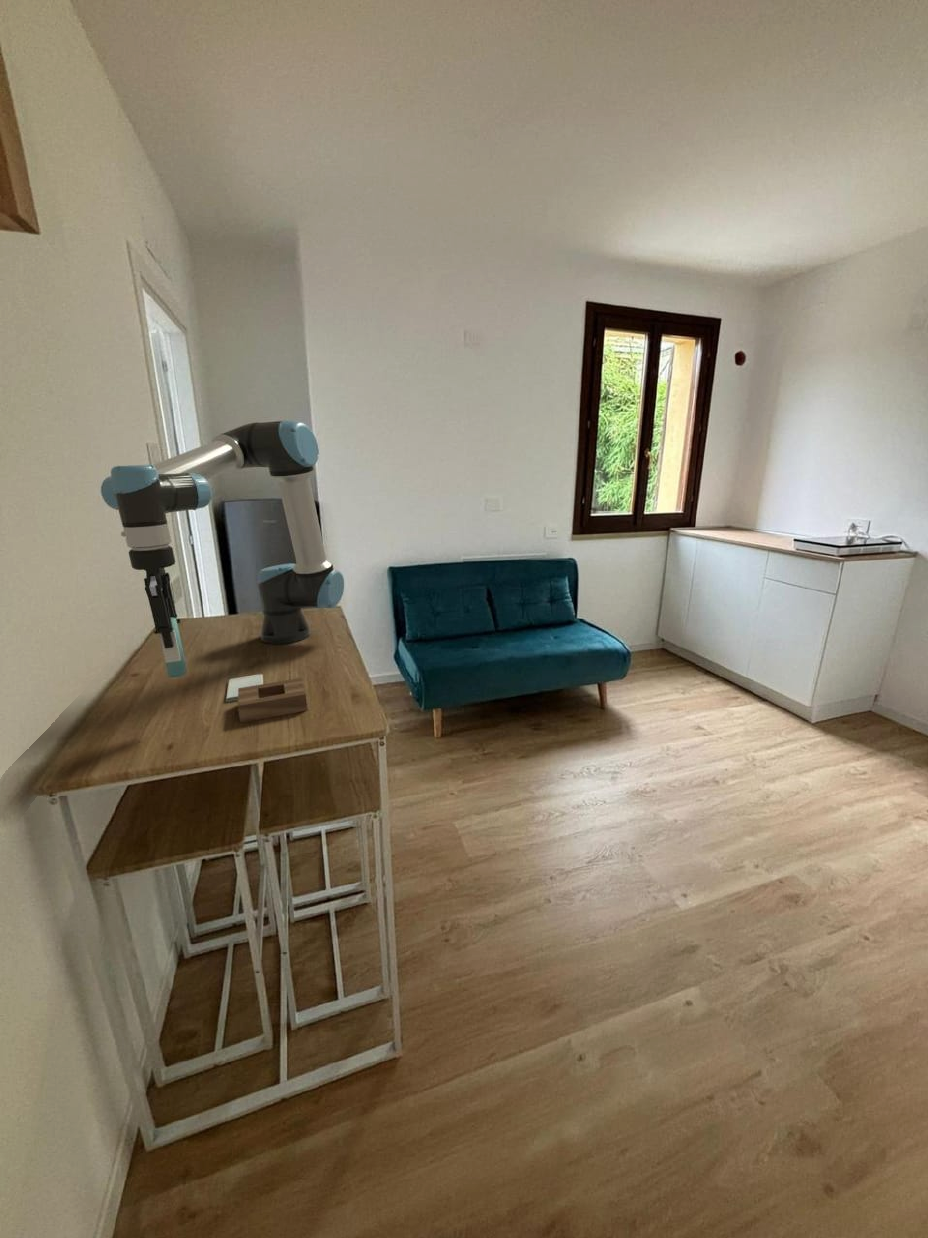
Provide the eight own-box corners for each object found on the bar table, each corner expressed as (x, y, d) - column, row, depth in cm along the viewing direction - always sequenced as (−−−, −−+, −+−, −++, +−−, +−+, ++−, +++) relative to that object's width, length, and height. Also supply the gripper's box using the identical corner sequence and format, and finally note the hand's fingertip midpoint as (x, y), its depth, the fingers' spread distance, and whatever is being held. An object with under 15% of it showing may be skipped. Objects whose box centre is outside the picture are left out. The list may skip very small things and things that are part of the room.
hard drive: (263, 692, 123) (262, 673, 134) (225, 698, 120) (228, 678, 131) (263, 698, 123) (263, 679, 134) (226, 704, 120) (229, 684, 131)
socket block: (241, 703, 119) (238, 688, 118) (303, 692, 124) (301, 677, 123) (240, 723, 110) (237, 706, 109) (307, 710, 115) (305, 693, 114)
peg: (169, 672, 110) (157, 619, 106) (188, 669, 111) (177, 616, 107) (167, 678, 106) (154, 624, 103) (186, 675, 108) (174, 621, 104)
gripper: (136, 542, 106) (160, 648, 114) (118, 555, 92) (147, 675, 99) (176, 539, 109) (197, 642, 116) (165, 551, 94) (190, 668, 102)
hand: (174, 657), depth 108 cm, fingers closed on peg, 3 cm apart
